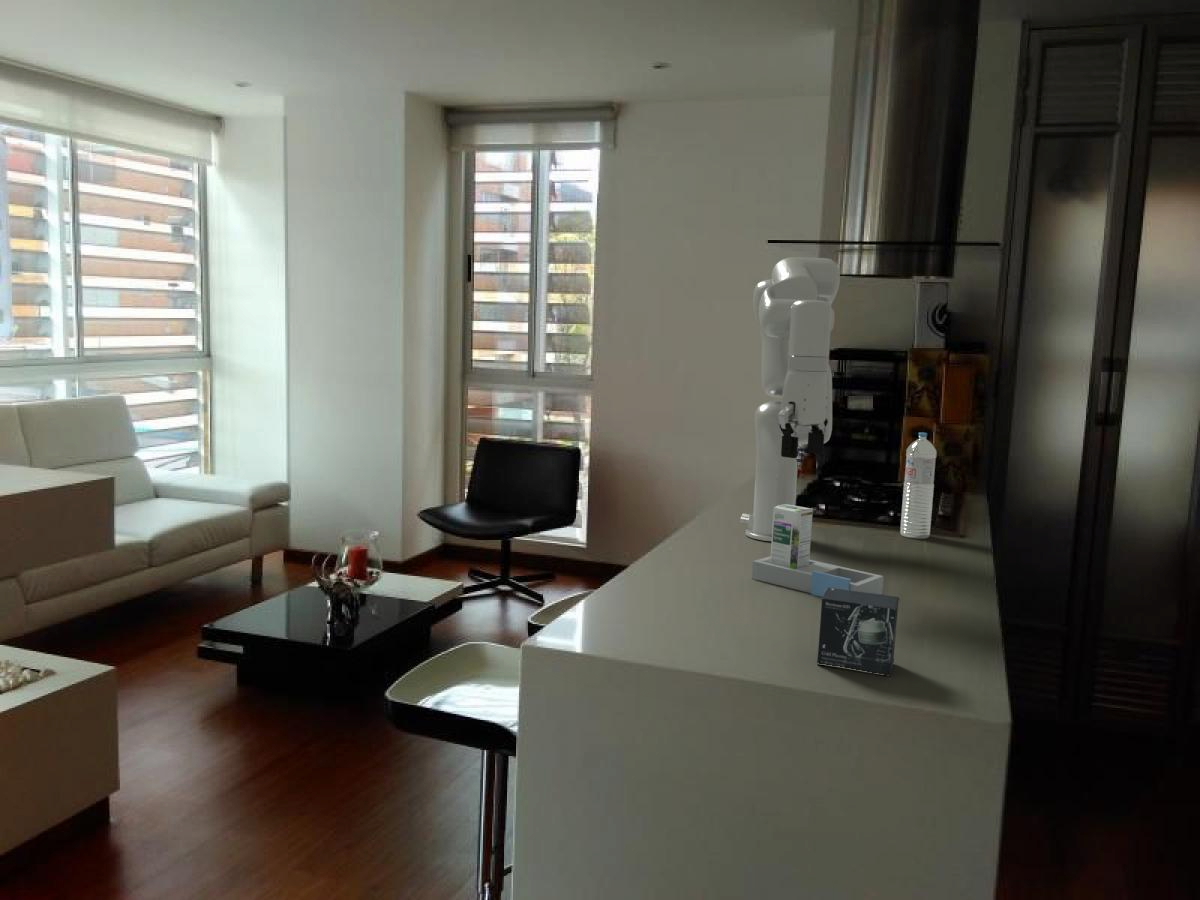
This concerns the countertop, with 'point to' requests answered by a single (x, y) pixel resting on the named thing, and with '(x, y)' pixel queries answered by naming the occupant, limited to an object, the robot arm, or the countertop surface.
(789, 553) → the syrup box
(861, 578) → the gray rectangular open frame
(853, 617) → the box
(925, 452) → the water bottle
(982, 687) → the countertop surface
